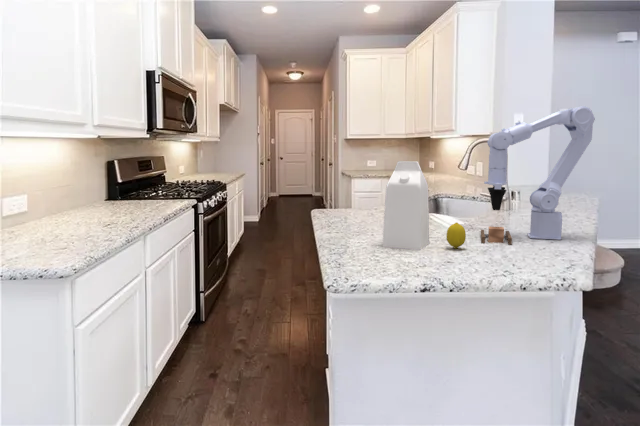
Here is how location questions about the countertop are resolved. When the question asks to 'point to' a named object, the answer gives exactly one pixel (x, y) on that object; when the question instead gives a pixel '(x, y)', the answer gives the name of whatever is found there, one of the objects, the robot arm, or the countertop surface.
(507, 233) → the channel
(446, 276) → the countertop surface
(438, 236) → the countertop surface
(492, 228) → the block
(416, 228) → the milk
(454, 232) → the lemon
